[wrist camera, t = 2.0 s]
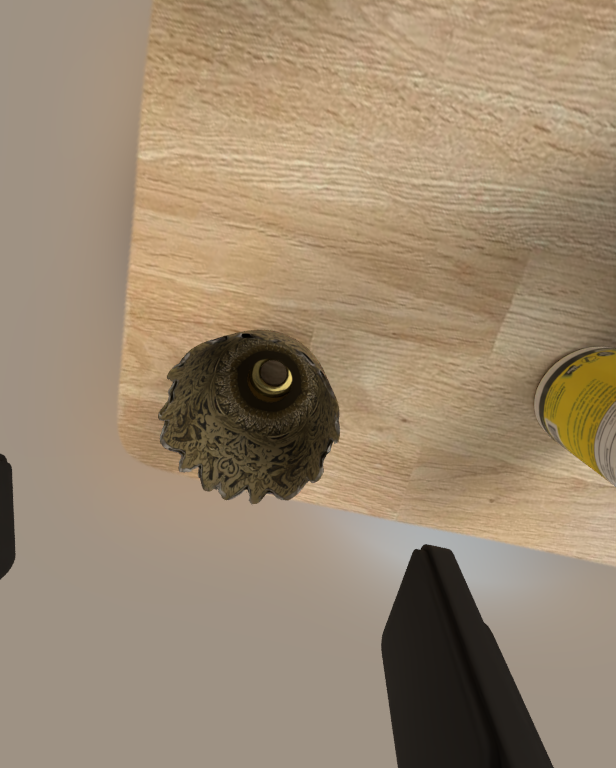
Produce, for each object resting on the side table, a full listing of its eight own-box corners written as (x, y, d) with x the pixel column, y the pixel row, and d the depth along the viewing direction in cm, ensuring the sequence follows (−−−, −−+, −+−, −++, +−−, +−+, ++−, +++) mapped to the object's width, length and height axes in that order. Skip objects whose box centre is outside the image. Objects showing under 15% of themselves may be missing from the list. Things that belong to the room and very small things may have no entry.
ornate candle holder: (238, 289, 21) (189, 302, 13) (355, 342, 22) (372, 383, 14) (197, 400, 23) (135, 466, 15) (304, 445, 24) (294, 530, 16)
